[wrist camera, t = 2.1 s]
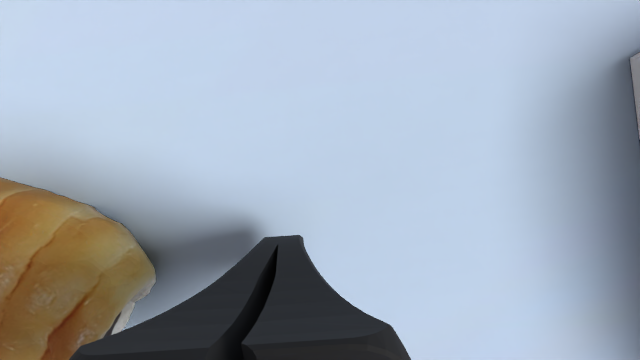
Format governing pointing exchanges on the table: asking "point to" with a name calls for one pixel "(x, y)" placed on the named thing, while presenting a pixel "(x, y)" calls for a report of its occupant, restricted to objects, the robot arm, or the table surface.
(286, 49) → the table surface
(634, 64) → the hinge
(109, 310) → the pastry
